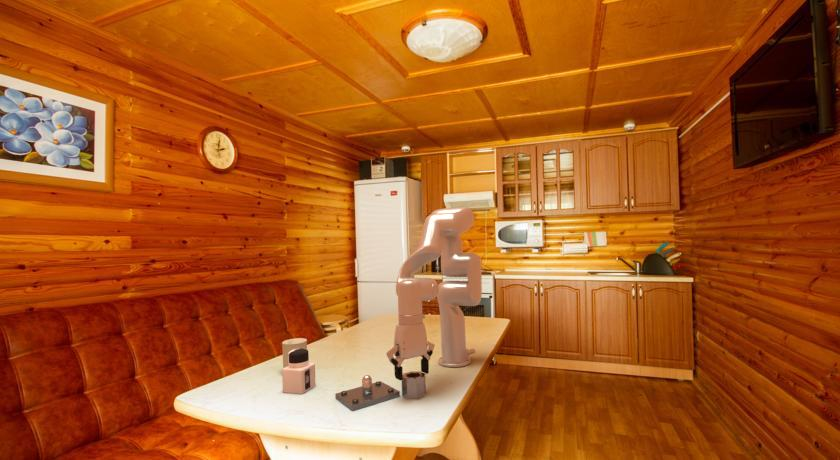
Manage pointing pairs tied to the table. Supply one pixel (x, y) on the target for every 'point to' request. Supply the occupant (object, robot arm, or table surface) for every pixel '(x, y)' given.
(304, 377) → the container
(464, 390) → the table surface
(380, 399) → the shaft block
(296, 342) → the can
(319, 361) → the table surface
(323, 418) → the table surface
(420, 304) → the robot arm
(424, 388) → the hub ring
